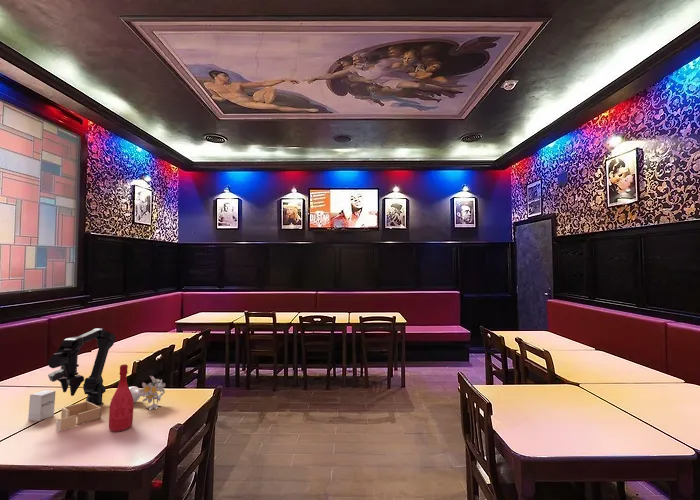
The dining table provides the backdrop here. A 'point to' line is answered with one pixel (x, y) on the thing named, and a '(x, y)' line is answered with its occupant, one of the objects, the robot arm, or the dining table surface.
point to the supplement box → (41, 405)
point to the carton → (84, 412)
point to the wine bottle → (121, 405)
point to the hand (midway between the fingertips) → (68, 393)
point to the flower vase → (148, 392)
